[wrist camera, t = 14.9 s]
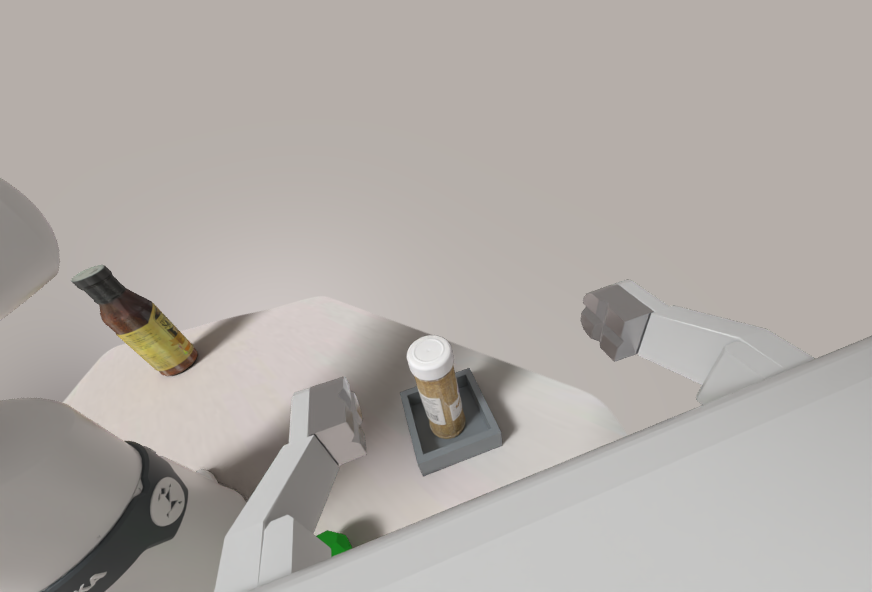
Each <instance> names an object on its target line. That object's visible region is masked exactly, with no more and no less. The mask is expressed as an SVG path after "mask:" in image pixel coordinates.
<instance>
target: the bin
mask: <svg viewBox="0 0 872 592" xmlns="http://www.w3.org/2000/svg"><path fill="white" fill-rule="evenodd" d="M455 377H456V379H457V384H458V389H459V393H460V398H461V402H462V409H463V412H464V415H465V426H464V428H463V430H462V431H461V433H460V434H459V435H458V436H456V437H454V438H450V439H443V438H440V437H438V436H436V435H435V434H434V433H433V432H432V430H431V428H430V424H429V419H428V417H427V414H426V412H425V409H424V406H423V403H422V400H421V397H420V394H419V391H418V388H417V387H414V388H411V389H408V390H405V391H403V392H400V395H401V399H402V403H403V407H404V411H405V415H406V419H407V423H408V427H409V431H410V435H411V439H412V443H413V447H414V451H415V455H416V459H417V463H418V466H419V468H420V470H421V473H422V475H423V476H426V475H428V474H431V473H433V472H436V471H438V470H441V469H443V468H446V467H448V466H451V465H454V464H456V463H459V462H461V461H464V460H466V459H469V458H471V457H474V456H477V455H479V454H482V453H484V452H487V451H489V450H492V449H494V448H497V447H500V446H502V437H501V431H500V429H499V427H498V425H497V423H496V421H495V419H494V417H493V415H492V413H491V411H490V409H489V407H488V405H487V403H486V401H485V398H484V396H483V394H482V392H481V390H480V388H479V386H478V384H477V382H476V380H475V378H474V376H473V374H472V372H471V370H470V368H467V369H465V370H462V371H459V372H456V373H455Z"/></svg>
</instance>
